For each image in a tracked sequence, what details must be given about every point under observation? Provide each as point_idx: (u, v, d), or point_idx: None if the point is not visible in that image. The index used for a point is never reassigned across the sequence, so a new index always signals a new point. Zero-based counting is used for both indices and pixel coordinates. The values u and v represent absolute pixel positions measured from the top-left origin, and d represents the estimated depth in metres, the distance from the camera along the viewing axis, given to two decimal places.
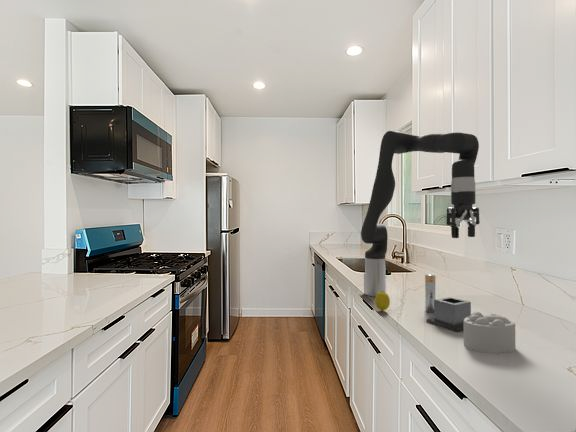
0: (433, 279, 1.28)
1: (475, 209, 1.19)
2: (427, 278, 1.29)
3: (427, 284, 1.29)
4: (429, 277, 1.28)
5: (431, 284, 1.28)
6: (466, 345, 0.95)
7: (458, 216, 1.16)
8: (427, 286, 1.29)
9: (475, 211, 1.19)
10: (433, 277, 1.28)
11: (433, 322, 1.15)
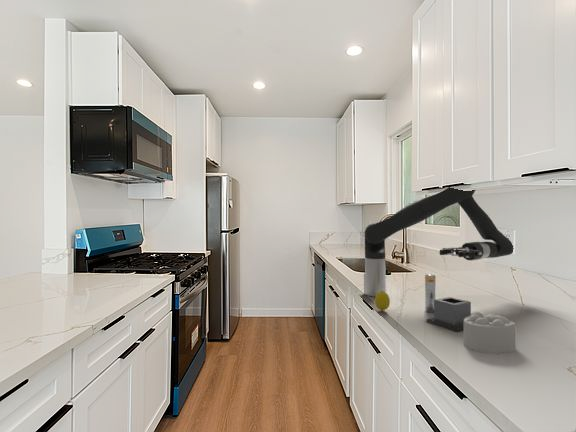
0: (433, 279, 1.28)
1: None
2: (427, 278, 1.29)
3: (427, 284, 1.29)
4: (429, 277, 1.28)
5: (431, 284, 1.28)
6: (466, 345, 0.95)
7: None
8: (427, 286, 1.29)
9: None
10: (433, 277, 1.28)
11: (433, 322, 1.15)
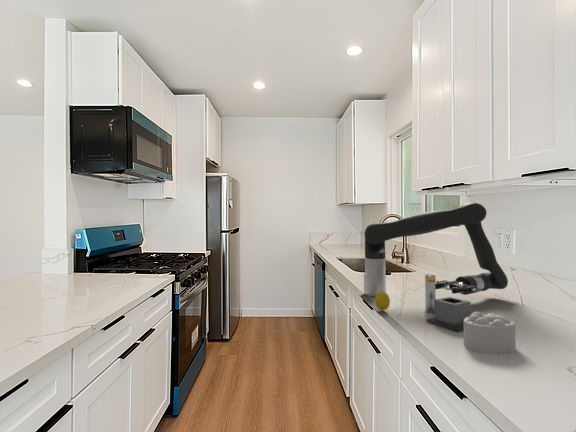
0: (433, 279, 1.28)
1: (447, 285, 1.43)
2: (427, 278, 1.29)
3: (427, 284, 1.29)
4: (429, 277, 1.28)
5: (431, 284, 1.28)
6: (466, 345, 0.95)
7: None
8: (427, 286, 1.29)
9: None
10: (433, 277, 1.28)
11: (433, 322, 1.15)
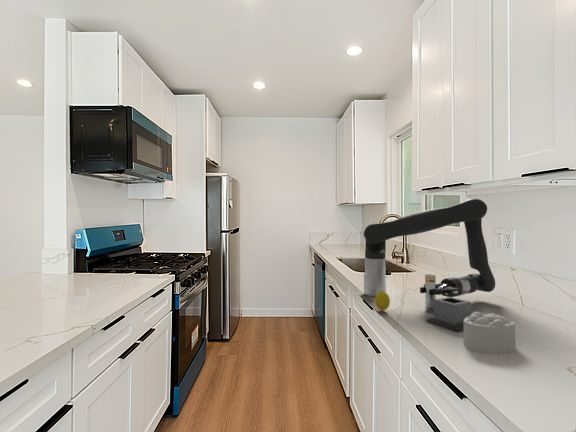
0: (433, 279, 1.28)
1: None
2: (427, 278, 1.29)
3: (427, 284, 1.29)
4: (429, 277, 1.28)
5: (431, 284, 1.28)
6: (466, 345, 0.95)
7: None
8: (427, 286, 1.29)
9: None
10: (433, 277, 1.28)
11: (433, 322, 1.15)
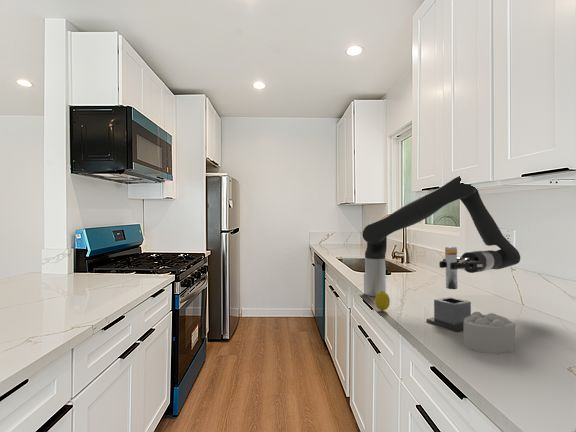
0: (455, 251, 1.14)
1: None
2: (448, 250, 1.15)
3: (448, 257, 1.15)
4: (450, 249, 1.14)
5: (453, 257, 1.14)
6: (466, 345, 0.95)
7: None
8: (448, 259, 1.15)
9: None
10: (455, 249, 1.14)
11: (433, 322, 1.15)
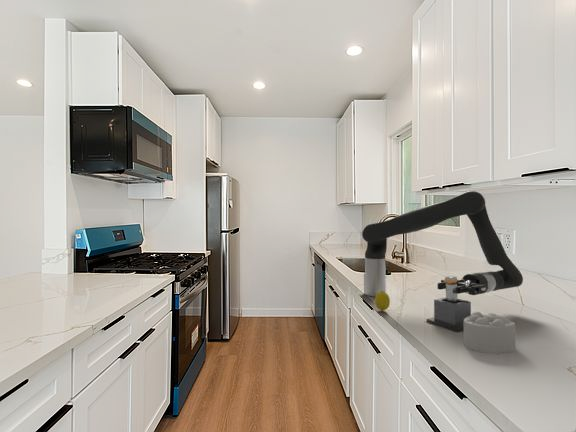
0: (455, 282, 1.13)
1: None
2: (448, 281, 1.13)
3: (448, 287, 1.14)
4: (450, 279, 1.13)
5: (453, 287, 1.13)
6: (466, 345, 0.95)
7: None
8: (448, 290, 1.14)
9: None
10: (455, 279, 1.13)
11: (433, 322, 1.15)
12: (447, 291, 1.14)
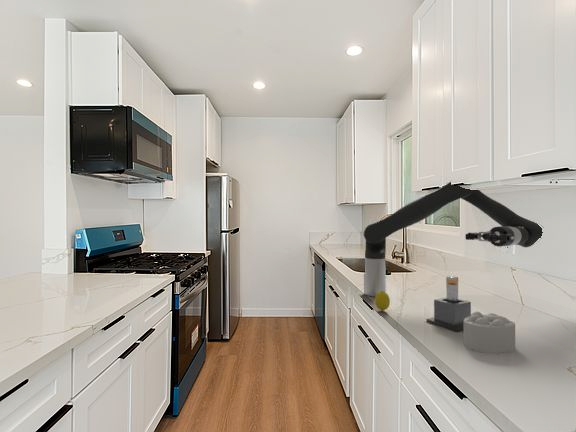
0: (456, 282, 1.13)
1: None
2: (449, 280, 1.14)
3: (449, 287, 1.14)
4: (451, 279, 1.13)
5: (454, 287, 1.13)
6: (466, 345, 0.95)
7: None
8: (449, 289, 1.14)
9: None
10: (456, 279, 1.13)
11: (433, 322, 1.15)
12: (448, 291, 1.14)
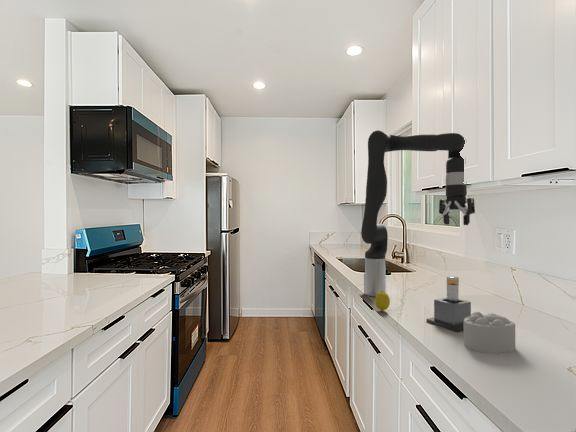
0: (456, 282, 1.13)
1: None
2: (449, 281, 1.13)
3: (449, 287, 1.13)
4: (452, 280, 1.13)
5: (454, 287, 1.13)
6: (466, 345, 0.95)
7: (462, 206, 1.33)
8: (449, 290, 1.13)
9: (445, 202, 1.40)
10: (456, 280, 1.13)
11: (433, 322, 1.15)
12: (448, 291, 1.14)
